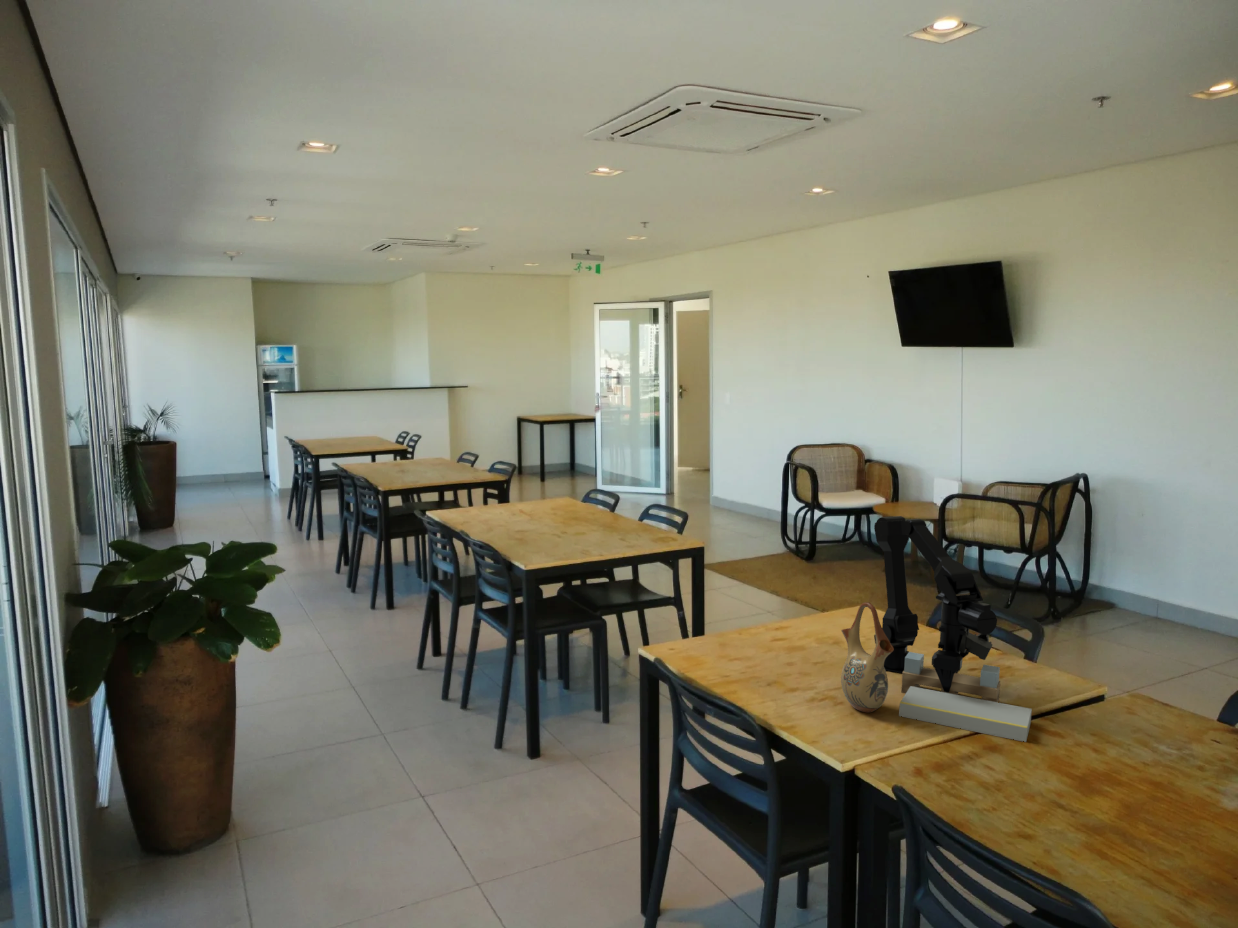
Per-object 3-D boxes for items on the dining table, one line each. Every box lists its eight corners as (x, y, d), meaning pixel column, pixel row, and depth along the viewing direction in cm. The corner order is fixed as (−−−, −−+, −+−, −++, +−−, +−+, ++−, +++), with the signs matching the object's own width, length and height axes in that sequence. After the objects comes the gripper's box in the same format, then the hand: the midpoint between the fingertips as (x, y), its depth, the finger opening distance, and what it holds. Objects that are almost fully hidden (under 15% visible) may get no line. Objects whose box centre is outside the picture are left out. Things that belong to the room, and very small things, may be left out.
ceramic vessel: (825, 698, 205) (829, 594, 202) (856, 693, 209) (861, 591, 206) (870, 725, 190) (875, 614, 187) (903, 719, 194) (909, 610, 191)
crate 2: (979, 685, 201) (980, 670, 201) (982, 678, 205) (983, 664, 205) (996, 688, 199) (997, 673, 199) (998, 681, 204) (999, 667, 203)
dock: (899, 715, 196) (899, 702, 195) (909, 698, 206) (910, 685, 206) (1026, 741, 183) (1027, 727, 182) (1030, 721, 193) (1031, 708, 193)
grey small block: (904, 671, 209) (904, 657, 209) (908, 665, 214) (909, 651, 213) (919, 674, 208) (920, 660, 207) (923, 668, 212) (924, 654, 212)
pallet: (901, 692, 210) (902, 672, 209) (906, 683, 215) (907, 664, 215) (995, 710, 199) (997, 689, 199) (998, 701, 205) (1000, 680, 204)
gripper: (985, 638, 193) (981, 706, 195) (995, 617, 209) (991, 680, 211) (933, 630, 199) (929, 696, 200) (946, 610, 215) (943, 671, 217)
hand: (950, 685), depth 207 cm, fingers open, 9 cm apart
